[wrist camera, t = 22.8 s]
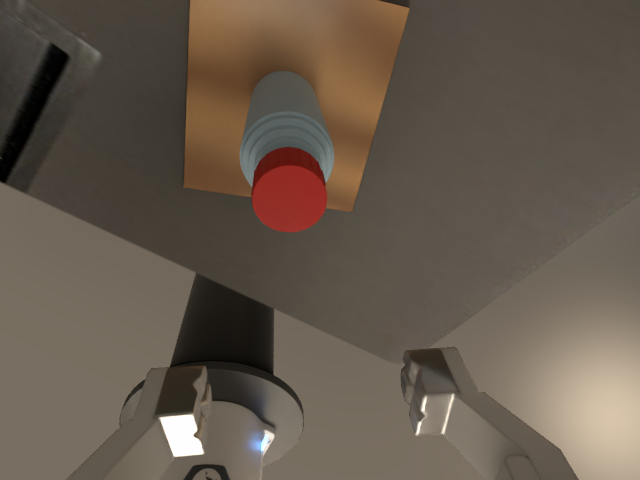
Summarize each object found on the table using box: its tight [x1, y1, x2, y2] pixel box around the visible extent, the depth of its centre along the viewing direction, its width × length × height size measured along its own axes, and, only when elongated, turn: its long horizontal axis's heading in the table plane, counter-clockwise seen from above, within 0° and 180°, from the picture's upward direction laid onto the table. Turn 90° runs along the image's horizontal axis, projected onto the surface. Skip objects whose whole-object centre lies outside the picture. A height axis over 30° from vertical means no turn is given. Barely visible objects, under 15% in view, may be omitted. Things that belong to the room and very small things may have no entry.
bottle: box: [239, 71, 334, 187], centre depth 30 cm, size 6×6×19 cm
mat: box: [184, 0, 410, 212], centre depth 38 cm, size 20×18×1 cm
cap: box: [251, 147, 327, 232], centre depth 22 cm, size 4×4×3 cm
